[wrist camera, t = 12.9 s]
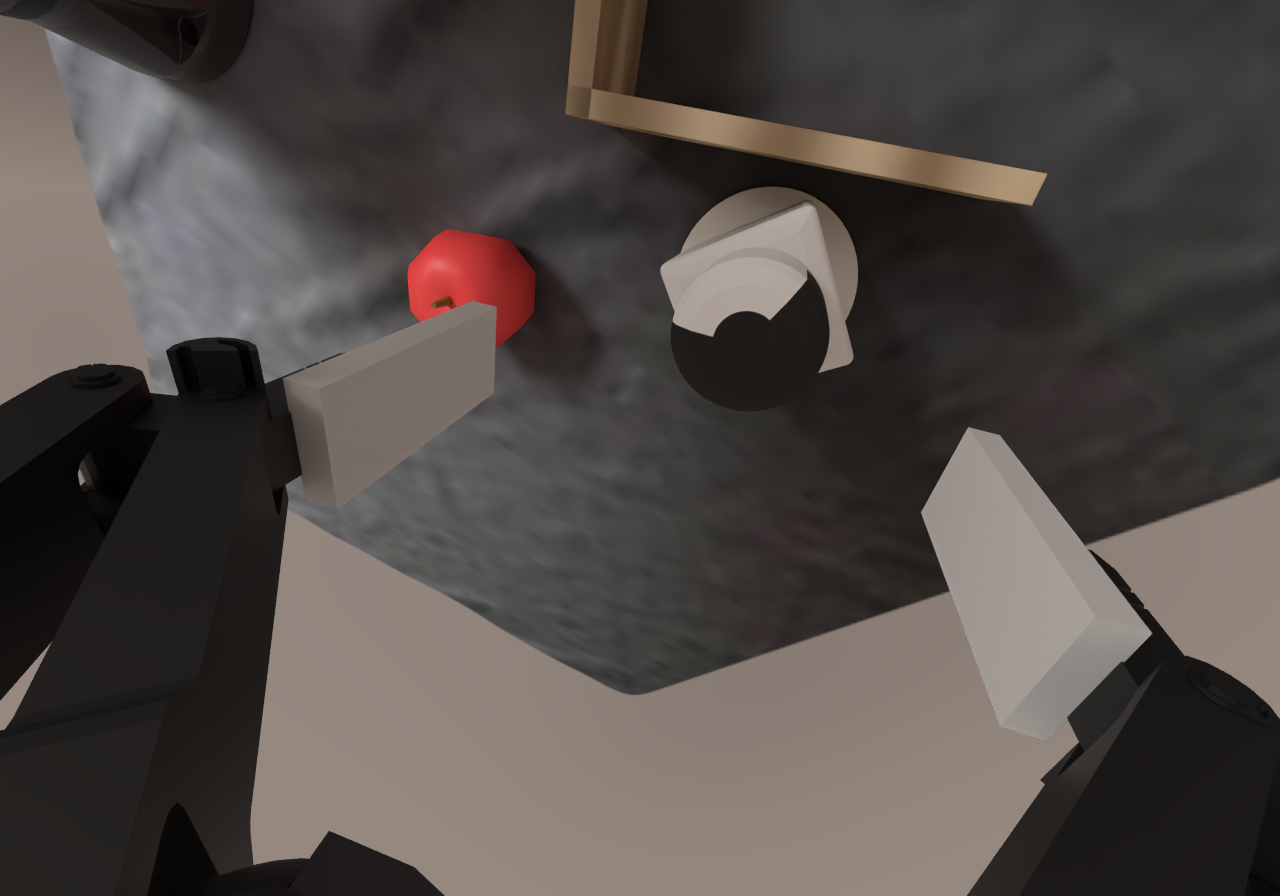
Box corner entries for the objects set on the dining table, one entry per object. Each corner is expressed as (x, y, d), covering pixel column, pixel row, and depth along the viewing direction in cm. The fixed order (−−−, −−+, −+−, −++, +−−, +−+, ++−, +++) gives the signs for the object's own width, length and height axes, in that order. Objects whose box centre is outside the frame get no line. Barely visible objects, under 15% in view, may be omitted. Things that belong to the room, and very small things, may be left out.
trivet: (662, 345, 37) (660, 347, 36) (698, 169, 31) (696, 169, 31) (820, 386, 35) (820, 389, 34) (887, 208, 30) (888, 208, 29)
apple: (529, 208, 35) (462, 215, 28) (566, 325, 38) (514, 358, 31) (433, 238, 38) (351, 252, 31) (475, 346, 41) (409, 380, 34)
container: (845, 326, 32) (867, 404, 21) (724, 363, 35) (689, 448, 24) (812, 197, 30) (818, 208, 19) (685, 248, 33) (625, 285, 22)
